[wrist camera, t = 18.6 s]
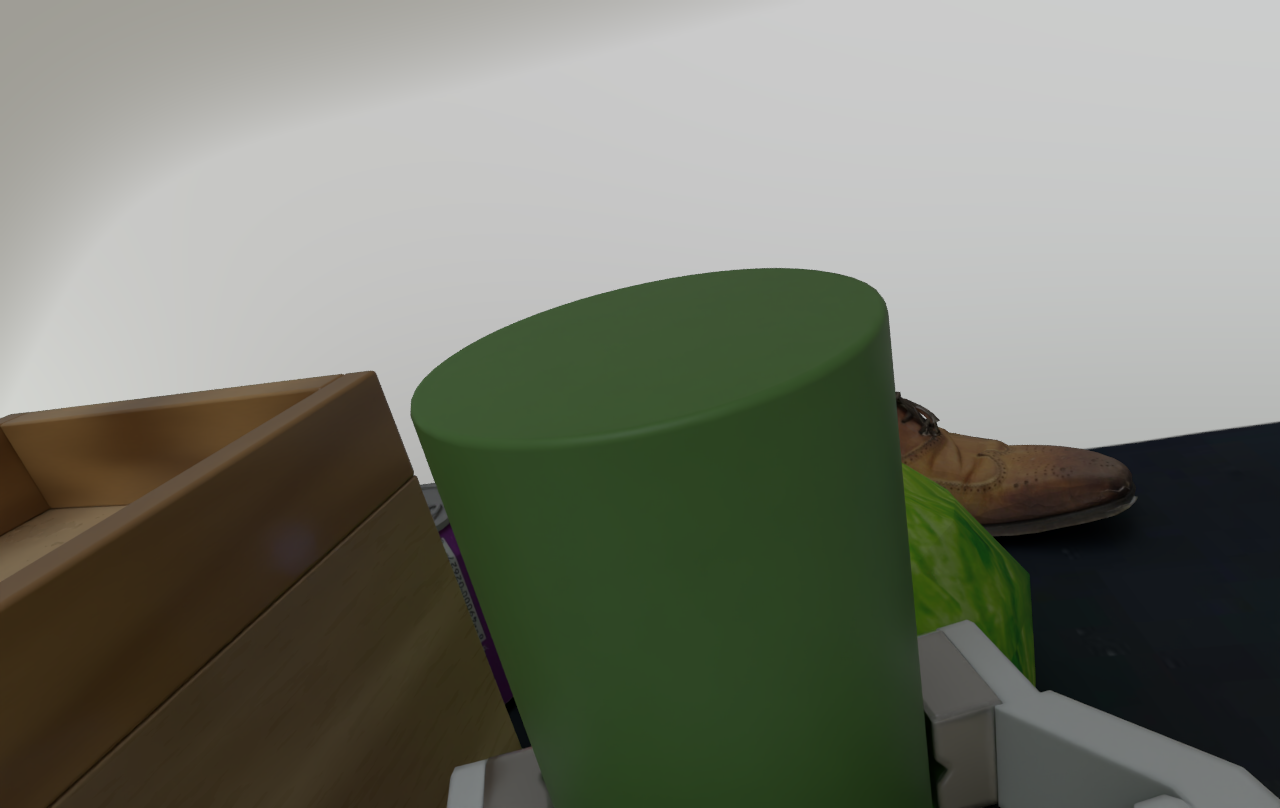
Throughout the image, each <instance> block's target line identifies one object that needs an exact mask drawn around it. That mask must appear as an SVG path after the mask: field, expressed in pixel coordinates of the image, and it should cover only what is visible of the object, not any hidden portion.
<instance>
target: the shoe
mask: <svg viewBox="0 0 1280 808" xmlns="http://www.w3.org/2000/svg"><path fill="white" fill-rule="evenodd" d="M895 394H896V405H897V416H898V428H899V439H900V450H901V461H902V463H903V464H905V465H907V466H908V467H910V468H912V469H913V470H915V471H917V472H919V473H920V474H922V475H924V476H925V477H927V478H929V479H930V480H932V481H934V482H935V483H937V484H939V485H940V486H942V487H944V488H945V489H947V490H948V491H949V492H950V493H951V494H952V495H953V496H954V498H955V499H956V500H957V501H958V502H959V503H960V504H961V505H962V506H963V507H964V508H965V509H966V510H967V511H968V512H969V513H970V514H971V515H972V516H973V517H974V518H975V519H976V520H977V521H978V522H979V523H980V524H981V525H982V526H983V527H984V528H985V529H986V530H987V531H988V532H989V533H990V534H991V535H992V536H1013V535H1021V534H1030V533H1039V532H1044V531H1048V530H1053V529H1058V528H1062V527H1067V526H1073V525H1078V524H1083V523H1088V522H1092V521H1096V520H1099V519H1103V518H1108V517H1111V516H1114V515H1117V514H1119V513H1121V512H1123V511H1124V510H1126V509H1128V508H1130V506H1131V505H1132V504H1133V503H1134V502H1135V501H1136V499H1137V497H1135V496H1134V494H1135V490H1136V486H1135V484H1134V483H1133V481H1132V474H1131V473H1130V471H1129V469H1128V468H1127V467H1126V466H1125V465H1124V464H1123V463H1121V462H1119V461H1117V460H1116V459H1114V458H1111V457H1108V456H1105V455H1102V454H1100V453H1097V452H1093V451H1088V450H1084V449H1078V448H1071V447H1062V446H1051V445H1009V446H1008V445H1006V444H1004V443H1003V442H1001V441H998V440H992V439H984V438H978V437H971V436H966V435H960V434H956V433H949V432H948V431H946V430H945V429H942V428H940V427H938V426H937V421H939V419H938V418H937V417H936V416H935V415H934V414H933V413H932V412H930V411H929V410H927V409H926V408H924V407H922V406H921V405H918V404H916V403H914V402H911V401H909V400H907V399H903V398H902V397H901V394H900V392H895ZM920 413H921V414H922V415H924V416H925V417H926V418H927V419H925V418H923V417H922V415H921V414H920Z"/></svg>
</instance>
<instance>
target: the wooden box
mask: <svg viewBox="0 0 1280 808" xmlns="http://www.w3.org/2000/svg"><path fill="white" fill-rule="evenodd" d="M413 474H414V471H413V468H412V465H411V463H410V460H409V458H408V455H407V452H406V450H405V448H404V445H403V442H402V439H401V437H400V434H399V432H398V429H397V426H396V424H395V421H394V419H393V416H392V413H391V411H390V408H389V406H388V403H387V401H386V398H385V396H384V393H383V390H382V388H381V385H380V382H379V380H378V377H377V375H376V373H375V372H374V371H364V372H357V373H348V374H345V375H344V374H338V375H330V376H321V377H313V378H306V379H297V380H289V381H281V382H272V383H264V384H256V385H248V386H240V387H232V388H224V389H215V390H207V391H199V392H191V393H183V394H175V395H167V396H159V397H150V398H143V399H134V400H126V401H118V402H109V403H102V404H93V405H85V406H77V407H69V408H61V409H53V410H45V411H37V412H27V413H18V414H11V415H8V416H5V417H3V418H0V808H447V801H448V793H449V784H450V777H451V775H452V773H453V771H454V768H455V767H458V766H462V765H465V764H469V763H473V762H477V761H481V760H485V759H488V758H489V757H493V756H497V755H501V754H505V753H508V752H512V751H516V750H520V749H522V748H521V745H520V743H519V740H518V738H517V735H516V733H515V730H514V727H513V725H512V722H511V720H510V717H509V714H508V712H507V709H506V707H505V704H504V701H503V699H502V696H501V694H500V691H499V688H498V686H497V683H496V681H495V678H494V675H493V673H492V670H491V668H490V665H489V662H488V660H487V657H486V655H485V652H484V650H483V647H482V644H481V642H480V639H479V637H478V634H477V631H476V629H475V626H474V624H473V621H472V618H471V616H470V613H469V611H468V608H467V605H466V603H465V600H464V598H463V595H462V592H461V590H460V587H459V585H458V582H457V580H456V577H455V574H454V572H453V569H452V567H451V564H450V561H449V559H448V556H447V554H446V551H445V548H444V546H443V543H442V541H441V538H440V535H439V533H438V530H437V528H436V525H435V522H434V520H433V517H432V515H431V512H430V509H429V507H428V504H427V502H426V499H425V497H424V494H423V491H422V489H421V486H420V484H419V481H418V478H417V476H415V475H413Z"/></svg>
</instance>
